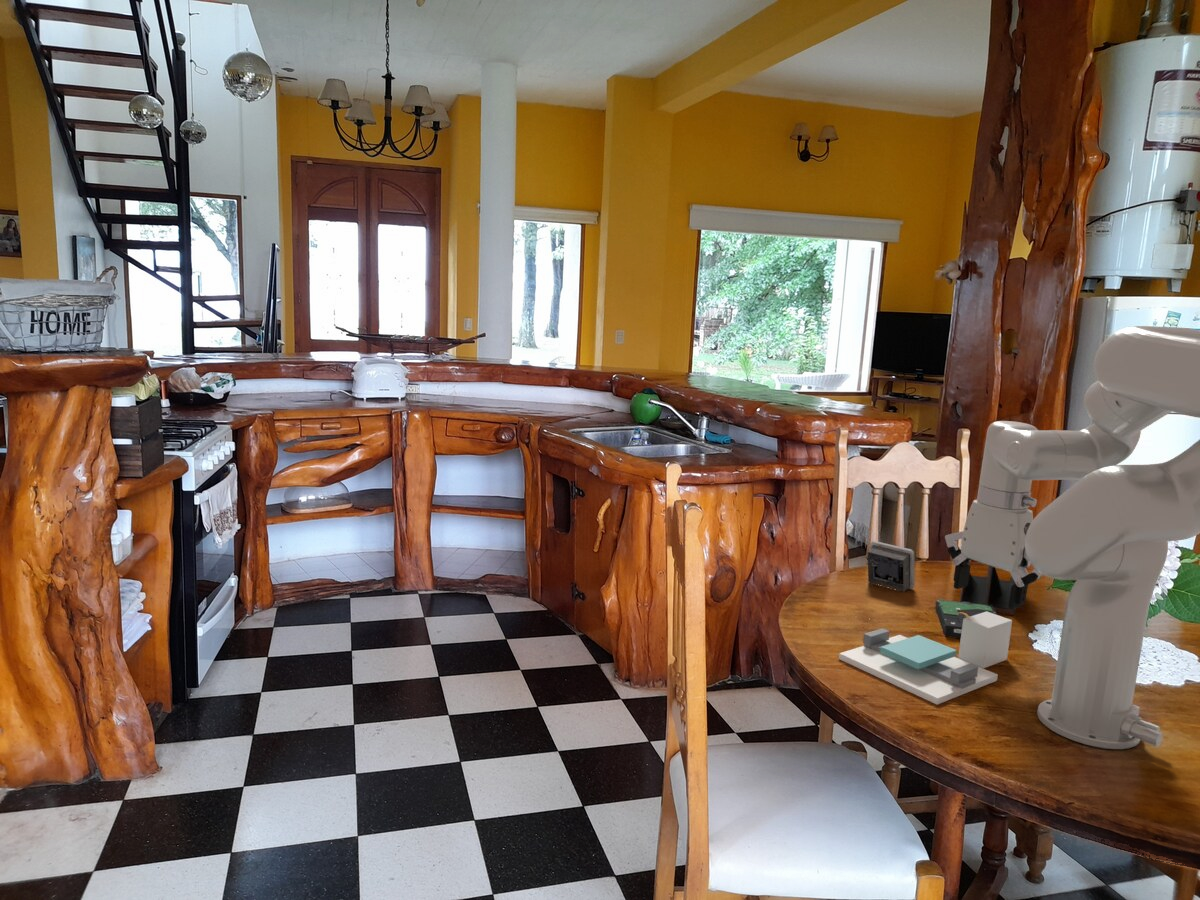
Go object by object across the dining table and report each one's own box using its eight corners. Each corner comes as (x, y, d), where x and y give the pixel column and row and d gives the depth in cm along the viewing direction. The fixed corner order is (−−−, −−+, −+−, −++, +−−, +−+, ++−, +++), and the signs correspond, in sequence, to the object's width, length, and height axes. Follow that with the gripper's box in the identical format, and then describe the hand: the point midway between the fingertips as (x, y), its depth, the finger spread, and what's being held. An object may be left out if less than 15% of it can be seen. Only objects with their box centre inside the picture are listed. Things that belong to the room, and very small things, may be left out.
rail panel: (997, 680, 130) (999, 660, 129) (937, 704, 121) (939, 683, 120) (899, 640, 144) (901, 621, 144) (838, 659, 135) (840, 639, 135)
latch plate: (956, 656, 132) (956, 650, 132) (918, 669, 127) (919, 663, 126) (917, 640, 138) (918, 634, 138) (880, 652, 132) (880, 646, 132)
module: (1006, 659, 138) (1012, 620, 137) (983, 668, 134) (988, 628, 133) (979, 649, 142) (985, 610, 141) (956, 657, 138) (961, 618, 137)
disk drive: (1007, 648, 145) (990, 617, 159) (1009, 633, 144) (992, 603, 158) (944, 639, 147) (933, 610, 161) (945, 625, 147) (934, 596, 161)
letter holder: (1013, 587, 177) (1021, 523, 174) (1014, 616, 159) (1024, 546, 157) (962, 579, 181) (970, 516, 178) (958, 606, 163) (967, 538, 161)
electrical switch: (915, 589, 172) (918, 547, 170) (904, 597, 168) (907, 555, 166) (872, 578, 178) (874, 538, 176) (861, 586, 174) (863, 544, 172)
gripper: (1068, 508, 129) (1050, 611, 132) (966, 483, 143) (953, 576, 146) (1043, 514, 125) (1026, 620, 128) (941, 487, 138) (927, 583, 142)
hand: (987, 597), depth 137 cm, fingers open, 9 cm apart
